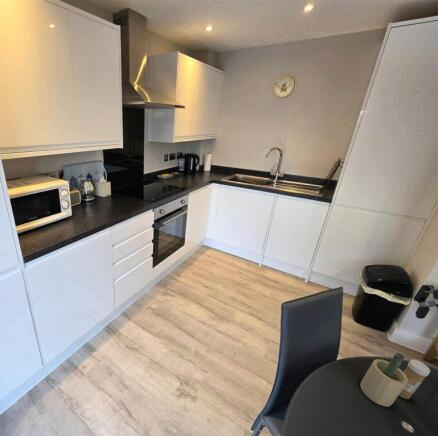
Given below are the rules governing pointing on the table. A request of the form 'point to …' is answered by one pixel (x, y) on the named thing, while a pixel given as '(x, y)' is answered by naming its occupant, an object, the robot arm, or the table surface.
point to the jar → (382, 383)
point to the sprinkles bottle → (414, 377)
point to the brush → (393, 365)
